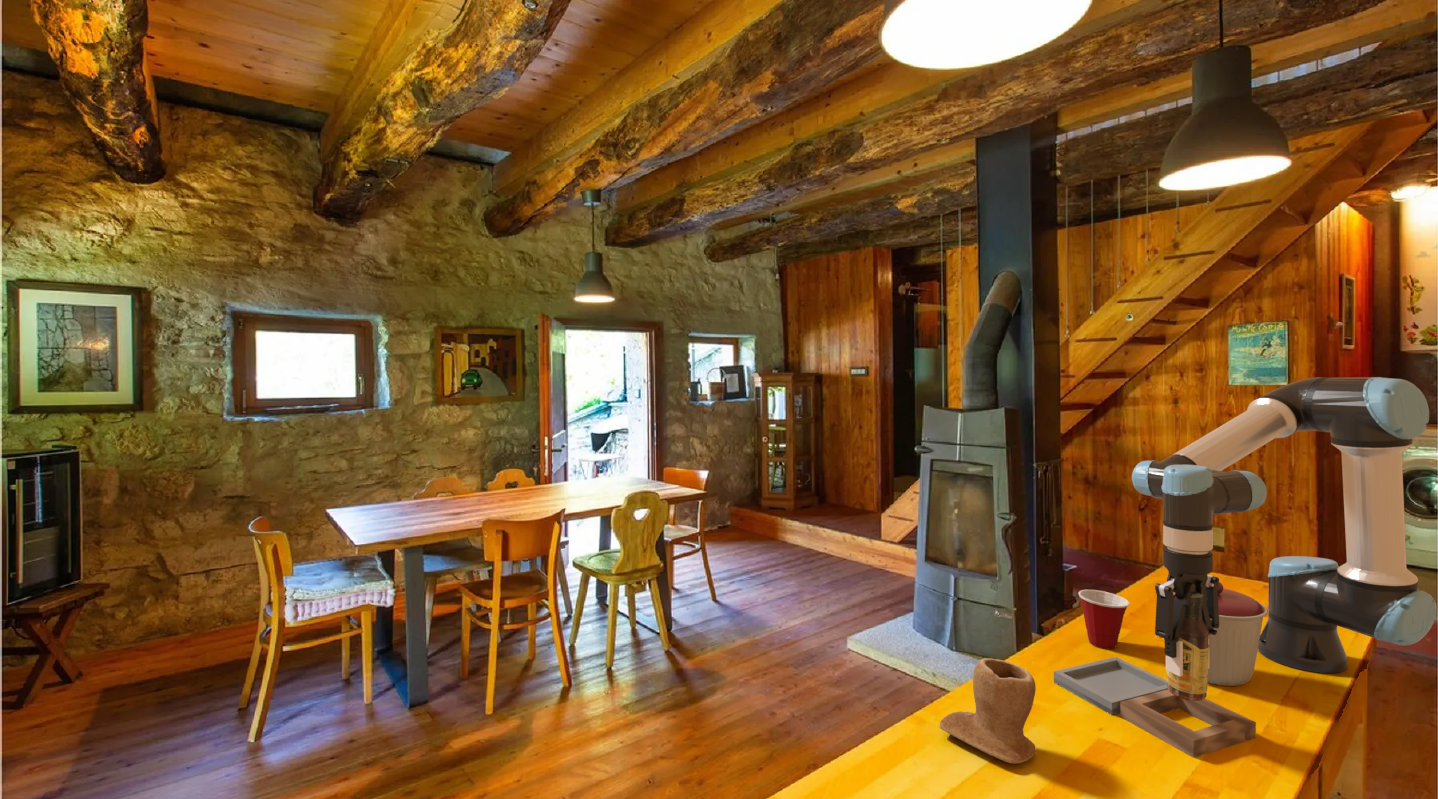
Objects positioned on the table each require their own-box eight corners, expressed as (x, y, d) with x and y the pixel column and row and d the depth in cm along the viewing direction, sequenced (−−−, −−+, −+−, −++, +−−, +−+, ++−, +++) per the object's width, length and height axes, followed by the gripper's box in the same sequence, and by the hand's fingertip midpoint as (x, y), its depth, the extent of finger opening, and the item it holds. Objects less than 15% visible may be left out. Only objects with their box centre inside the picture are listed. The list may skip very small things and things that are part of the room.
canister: (1243, 661, 146) (1244, 570, 145) (1283, 701, 129) (1285, 598, 128) (1151, 652, 152) (1151, 564, 151) (1178, 689, 135) (1178, 590, 134)
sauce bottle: (1158, 687, 124) (1158, 586, 123) (1188, 684, 124) (1188, 584, 123) (1186, 705, 117) (1185, 599, 116) (1217, 702, 118) (1218, 596, 117)
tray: (1116, 667, 145) (1116, 656, 145) (1177, 697, 131) (1177, 685, 131) (1053, 682, 139) (1053, 671, 139) (1111, 715, 126) (1111, 702, 126)
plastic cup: (1137, 655, 150) (1138, 605, 150) (1087, 652, 152) (1087, 603, 152) (1118, 636, 161) (1119, 589, 160) (1071, 633, 163) (1071, 587, 162)
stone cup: (1050, 750, 115) (1050, 669, 114) (1014, 776, 108) (1013, 690, 107) (974, 714, 127) (973, 641, 127) (937, 736, 121) (936, 658, 120)
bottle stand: (1179, 700, 130) (1179, 686, 130) (1255, 738, 117) (1255, 722, 117) (1120, 716, 125) (1120, 701, 125) (1193, 757, 112) (1193, 740, 112)
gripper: (1202, 537, 126) (1203, 651, 127) (1130, 550, 120) (1131, 670, 121) (1244, 547, 119) (1244, 668, 120) (1169, 561, 113) (1170, 688, 114)
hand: (1187, 669), depth 121 cm, fingers closed on sauce bottle, 6 cm apart
